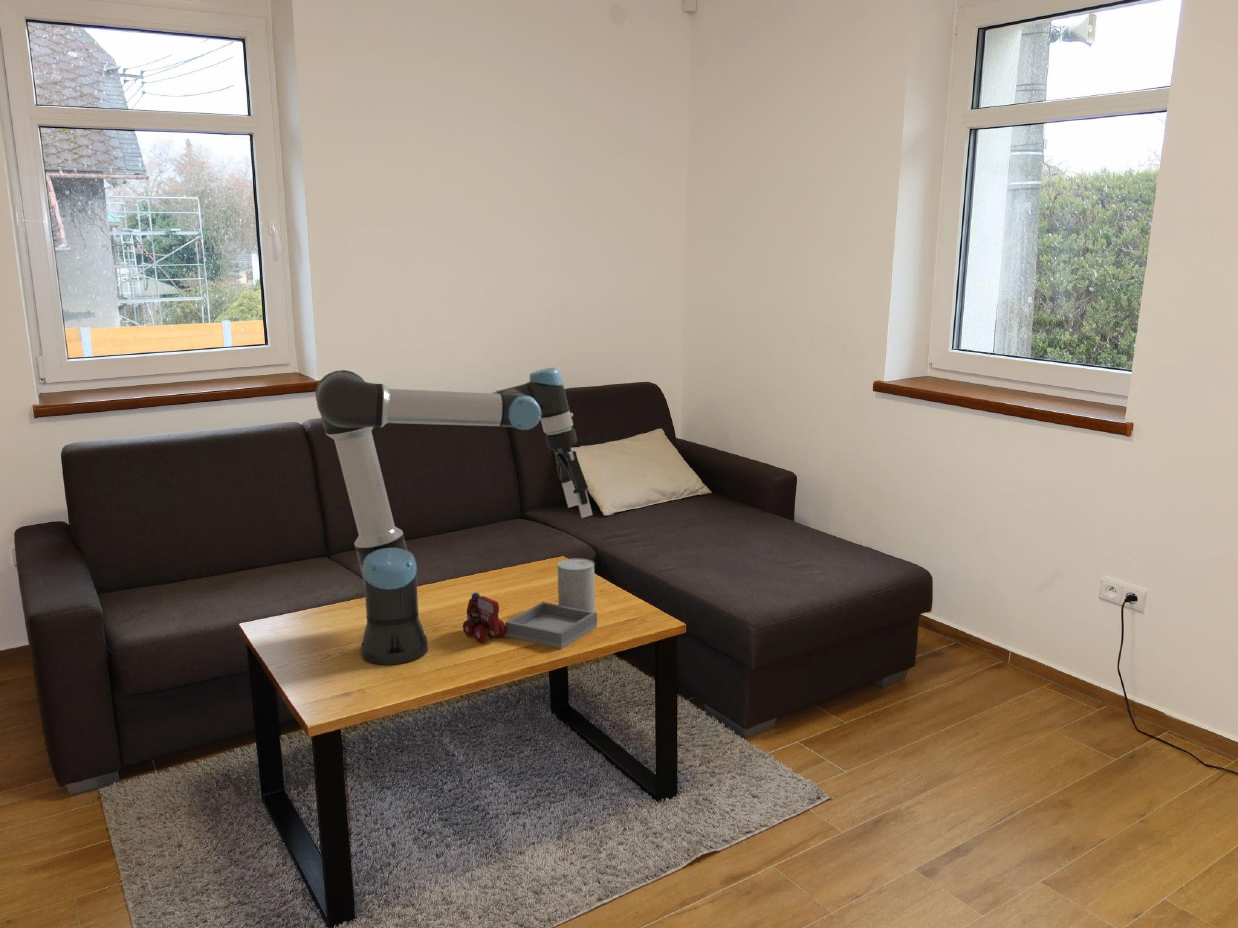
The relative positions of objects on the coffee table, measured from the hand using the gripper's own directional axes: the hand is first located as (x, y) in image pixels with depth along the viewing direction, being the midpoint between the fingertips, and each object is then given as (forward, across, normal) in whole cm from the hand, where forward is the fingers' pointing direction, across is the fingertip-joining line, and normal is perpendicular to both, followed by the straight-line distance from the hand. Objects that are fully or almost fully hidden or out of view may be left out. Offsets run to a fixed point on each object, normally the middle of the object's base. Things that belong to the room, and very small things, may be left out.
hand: (580, 511), depth 245 cm
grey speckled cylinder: (+26, +3, +7) cm, 27 cm away
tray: (+24, -10, +16) cm, 31 cm away
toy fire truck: (+21, -7, +32) cm, 39 cm away
